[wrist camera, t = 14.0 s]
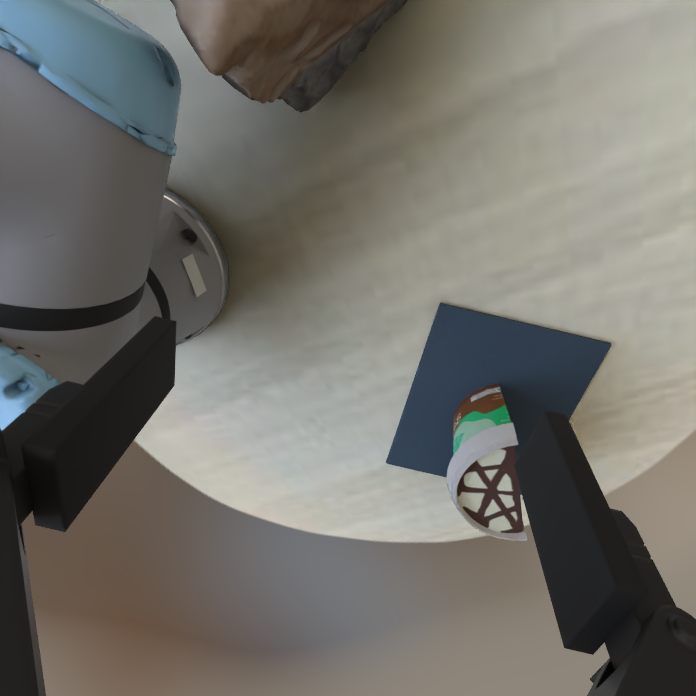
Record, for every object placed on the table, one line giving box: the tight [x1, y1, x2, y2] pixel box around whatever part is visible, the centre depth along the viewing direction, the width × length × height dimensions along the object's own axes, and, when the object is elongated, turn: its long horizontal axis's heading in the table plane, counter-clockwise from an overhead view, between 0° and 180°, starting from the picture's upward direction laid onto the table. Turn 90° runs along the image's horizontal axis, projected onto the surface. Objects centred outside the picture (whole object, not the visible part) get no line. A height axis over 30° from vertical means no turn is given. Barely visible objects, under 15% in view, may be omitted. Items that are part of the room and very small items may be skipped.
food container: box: [447, 383, 527, 541], centre depth 45 cm, size 12×6×10 cm, turn 14°
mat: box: [386, 303, 611, 495], centre depth 49 cm, size 16×20×1 cm
